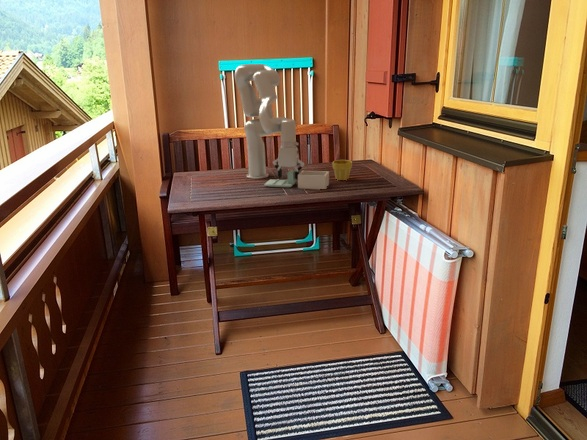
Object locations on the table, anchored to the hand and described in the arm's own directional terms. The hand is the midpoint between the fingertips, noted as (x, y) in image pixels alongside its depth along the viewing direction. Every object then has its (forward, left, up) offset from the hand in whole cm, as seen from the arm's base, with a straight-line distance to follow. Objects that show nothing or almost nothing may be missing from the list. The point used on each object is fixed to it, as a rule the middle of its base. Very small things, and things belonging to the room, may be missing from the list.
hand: (288, 177), depth 236 cm
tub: (0, +13, -4) cm, 14 cm away
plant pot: (-17, +25, -4) cm, 31 cm away
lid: (0, -4, -4) cm, 6 cm away
